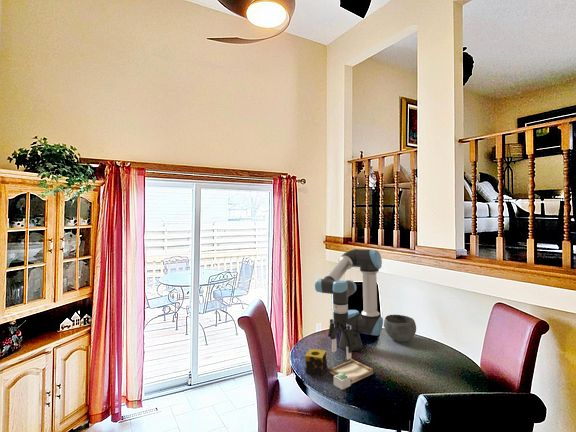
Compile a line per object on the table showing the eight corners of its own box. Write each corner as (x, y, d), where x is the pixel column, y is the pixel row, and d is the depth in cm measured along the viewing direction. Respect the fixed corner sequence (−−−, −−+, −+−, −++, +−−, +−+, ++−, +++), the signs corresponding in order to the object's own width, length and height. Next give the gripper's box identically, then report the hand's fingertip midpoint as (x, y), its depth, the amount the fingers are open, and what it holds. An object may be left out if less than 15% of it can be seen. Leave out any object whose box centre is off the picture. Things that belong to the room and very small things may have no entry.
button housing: (333, 384, 165) (333, 376, 165) (342, 381, 168) (341, 372, 168) (342, 389, 160) (341, 380, 160) (350, 385, 163) (350, 377, 163)
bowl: (389, 332, 235) (389, 312, 235) (419, 338, 223) (419, 317, 222) (379, 341, 218) (379, 320, 218) (411, 349, 206) (411, 325, 205)
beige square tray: (329, 372, 178) (329, 367, 178) (351, 363, 188) (351, 358, 188) (350, 384, 165) (350, 379, 165) (373, 373, 175) (373, 369, 175)
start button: (336, 381, 164) (336, 374, 164) (341, 379, 166) (341, 371, 166) (341, 384, 161) (341, 376, 161) (347, 382, 164) (346, 374, 164)
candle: (327, 367, 183) (327, 350, 183) (323, 376, 174) (323, 357, 174) (310, 365, 187) (309, 348, 187) (305, 373, 177) (305, 355, 177)
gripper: (320, 307, 171) (321, 349, 171) (351, 318, 152) (352, 365, 153) (330, 305, 175) (331, 345, 175) (362, 315, 157) (363, 360, 157)
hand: (341, 354), depth 164 cm, fingers open, 10 cm apart
